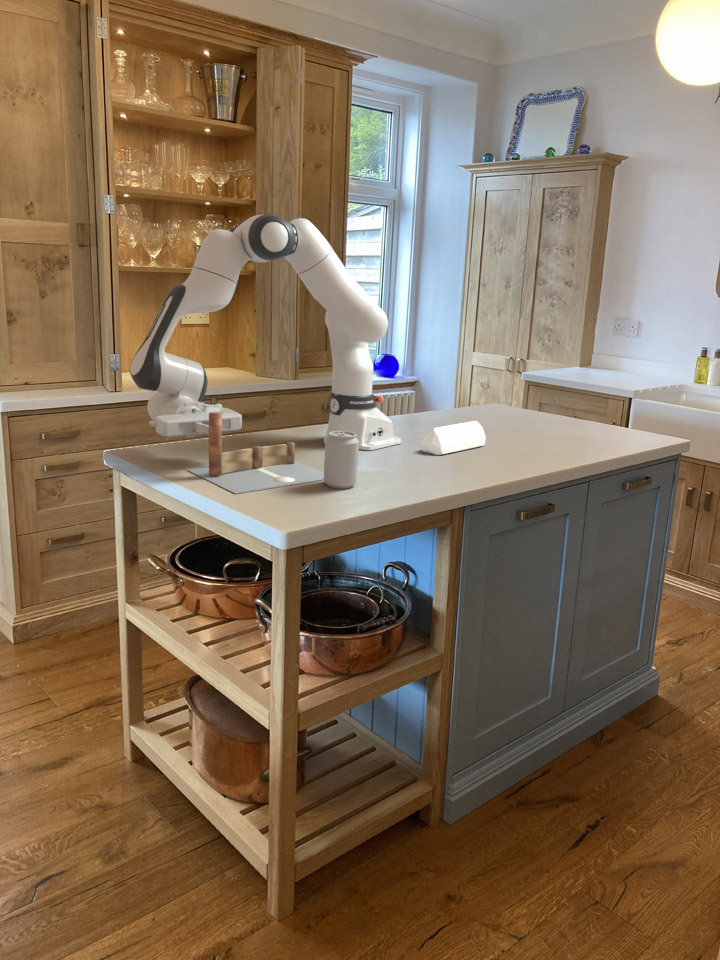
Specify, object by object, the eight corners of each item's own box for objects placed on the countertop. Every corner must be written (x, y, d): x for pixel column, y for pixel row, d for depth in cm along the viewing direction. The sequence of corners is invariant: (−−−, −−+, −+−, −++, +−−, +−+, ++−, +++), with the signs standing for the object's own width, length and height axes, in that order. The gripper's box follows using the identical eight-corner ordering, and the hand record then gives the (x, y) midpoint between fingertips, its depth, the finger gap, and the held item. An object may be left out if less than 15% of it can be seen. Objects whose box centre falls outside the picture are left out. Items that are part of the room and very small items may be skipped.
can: (327, 490, 170) (329, 436, 166) (320, 480, 176) (322, 429, 173) (360, 489, 172) (363, 436, 168) (351, 480, 178) (354, 429, 175)
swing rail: (247, 466, 184) (248, 408, 180) (254, 468, 182) (255, 410, 178) (206, 473, 175) (206, 413, 171) (213, 476, 173) (213, 415, 170)
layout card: (284, 457, 196) (284, 456, 196) (337, 477, 180) (337, 477, 179) (186, 470, 179) (187, 469, 179) (235, 494, 163) (235, 493, 163)
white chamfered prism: (443, 444, 203) (495, 434, 220) (426, 427, 206) (479, 418, 223) (430, 465, 207) (482, 453, 224) (414, 448, 210) (466, 437, 227)
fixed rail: (290, 461, 191) (291, 441, 190) (296, 463, 190) (296, 443, 188) (249, 466, 184) (249, 446, 183) (254, 469, 182) (254, 448, 181)
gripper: (145, 408, 177) (171, 420, 167) (225, 402, 190) (253, 413, 179) (146, 435, 179) (171, 448, 169) (224, 428, 191) (253, 439, 181)
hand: (214, 430), depth 174 cm, fingers closed
